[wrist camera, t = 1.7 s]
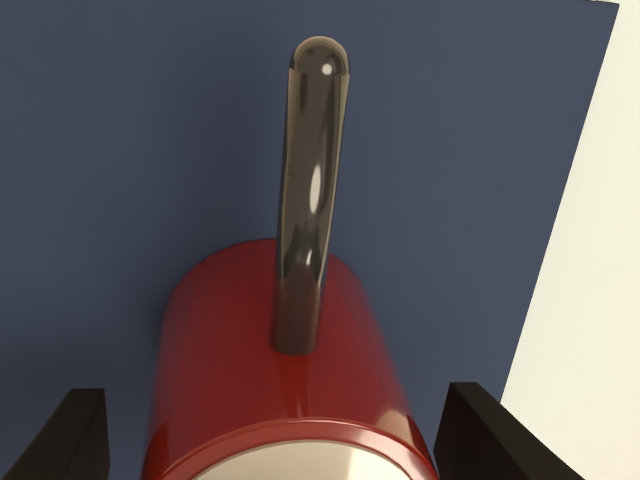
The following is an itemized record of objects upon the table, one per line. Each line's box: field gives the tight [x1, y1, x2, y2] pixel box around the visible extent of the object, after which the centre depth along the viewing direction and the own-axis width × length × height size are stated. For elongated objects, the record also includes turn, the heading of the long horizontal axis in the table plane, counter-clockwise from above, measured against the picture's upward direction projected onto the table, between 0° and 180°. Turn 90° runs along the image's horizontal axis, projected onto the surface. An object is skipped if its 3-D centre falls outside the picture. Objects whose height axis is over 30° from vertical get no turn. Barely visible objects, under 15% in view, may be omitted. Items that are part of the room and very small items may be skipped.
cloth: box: [0, 0, 620, 480], centre depth 16 cm, size 17×16×1 cm
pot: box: [138, 36, 440, 480], centre depth 12 cm, size 11×5×6 cm, turn 174°
